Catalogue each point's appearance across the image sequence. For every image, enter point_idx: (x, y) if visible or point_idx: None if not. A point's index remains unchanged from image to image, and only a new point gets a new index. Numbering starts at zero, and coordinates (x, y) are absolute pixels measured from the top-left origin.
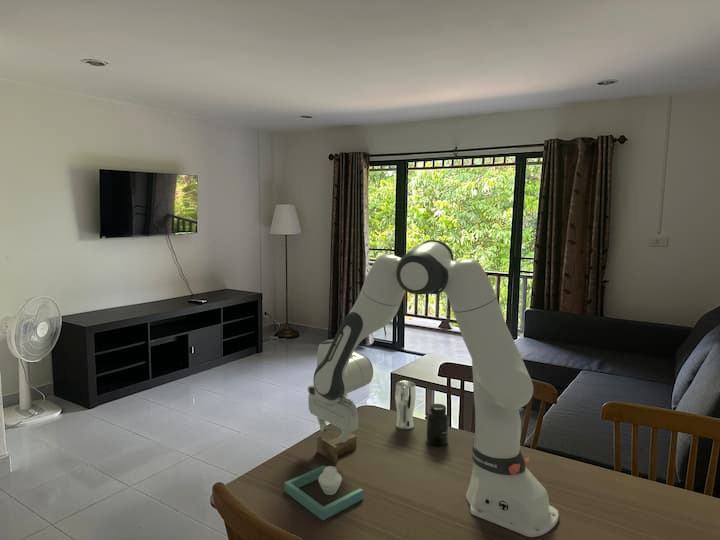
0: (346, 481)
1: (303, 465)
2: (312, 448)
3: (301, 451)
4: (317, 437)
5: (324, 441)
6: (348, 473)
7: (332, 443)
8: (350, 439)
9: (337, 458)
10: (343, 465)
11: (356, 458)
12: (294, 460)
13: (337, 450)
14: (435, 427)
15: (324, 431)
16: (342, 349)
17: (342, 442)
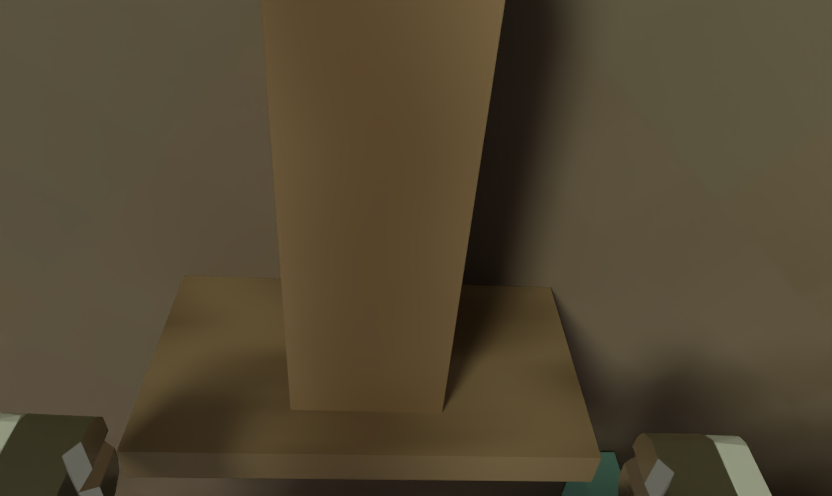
0: (825, 410)
1: (341, 479)
2: (72, 289)
3: (80, 388)
4: (139, 469)
5: (324, 472)
6: (781, 336)
7: (392, 367)
8: (496, 30)
9: (561, 324)
10: (647, 284)
11: (702, 73)
12: (215, 484)
13: (586, 410)
14: None
15: (111, 457)
16: None
17: (465, 227)
